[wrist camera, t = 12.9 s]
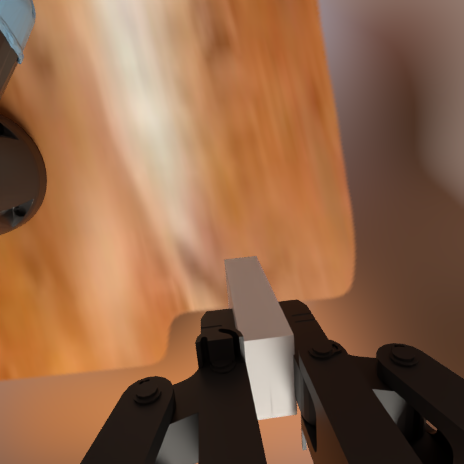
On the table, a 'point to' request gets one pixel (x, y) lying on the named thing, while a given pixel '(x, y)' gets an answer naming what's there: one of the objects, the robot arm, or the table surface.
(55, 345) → the table surface
